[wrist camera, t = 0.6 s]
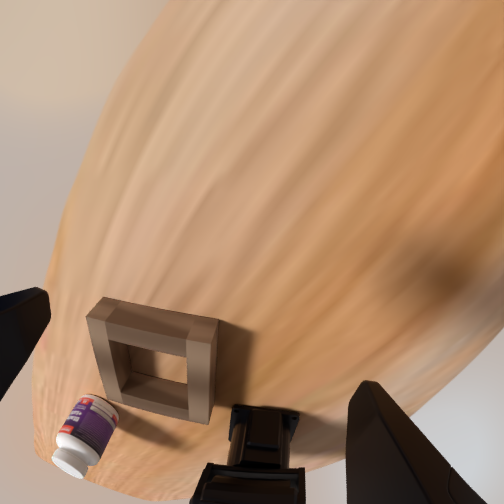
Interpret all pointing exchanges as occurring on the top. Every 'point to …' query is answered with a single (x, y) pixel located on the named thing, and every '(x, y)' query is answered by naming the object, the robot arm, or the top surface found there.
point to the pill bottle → (85, 435)
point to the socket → (162, 340)
